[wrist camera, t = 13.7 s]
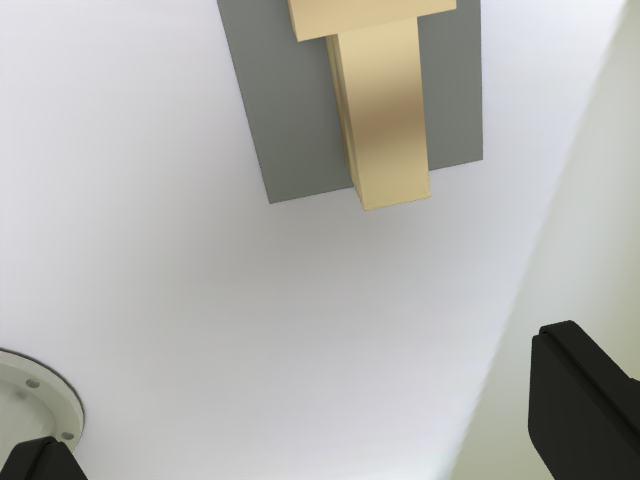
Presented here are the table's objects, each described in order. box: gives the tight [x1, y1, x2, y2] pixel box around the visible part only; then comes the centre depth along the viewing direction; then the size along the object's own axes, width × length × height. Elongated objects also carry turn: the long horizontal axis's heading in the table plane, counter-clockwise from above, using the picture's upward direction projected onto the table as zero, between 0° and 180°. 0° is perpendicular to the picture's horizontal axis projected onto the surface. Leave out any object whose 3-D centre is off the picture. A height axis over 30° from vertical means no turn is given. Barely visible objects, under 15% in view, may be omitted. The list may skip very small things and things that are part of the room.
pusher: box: [287, 0, 456, 211], centre depth 22 cm, size 15×6×6 cm, turn 10°
